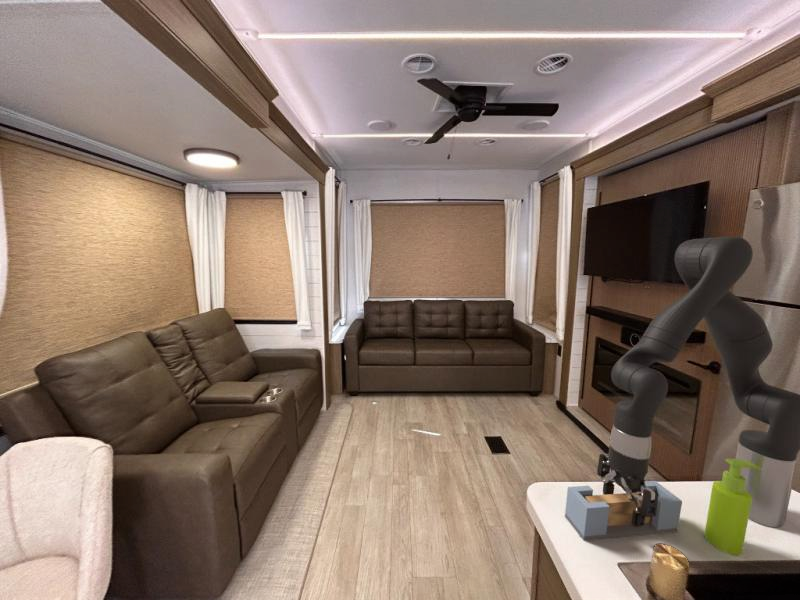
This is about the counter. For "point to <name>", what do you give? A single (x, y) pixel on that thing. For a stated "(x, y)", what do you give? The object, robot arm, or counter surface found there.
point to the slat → (617, 508)
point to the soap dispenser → (729, 509)
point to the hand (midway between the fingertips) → (621, 510)
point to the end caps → (594, 522)
